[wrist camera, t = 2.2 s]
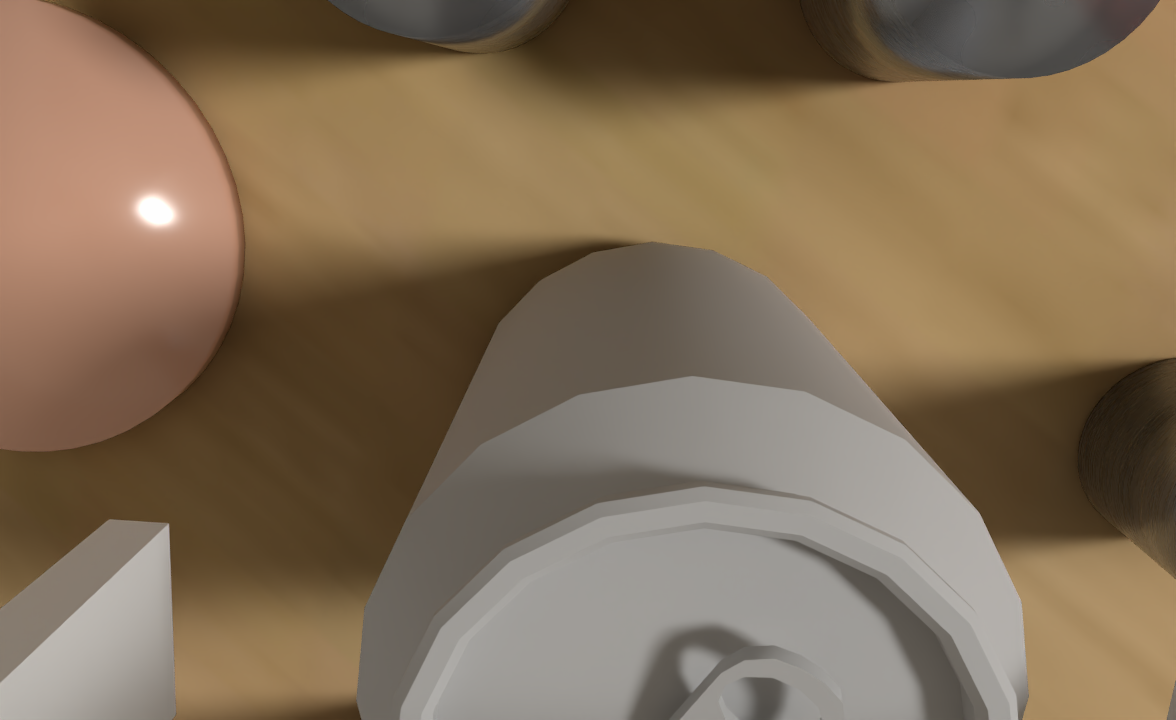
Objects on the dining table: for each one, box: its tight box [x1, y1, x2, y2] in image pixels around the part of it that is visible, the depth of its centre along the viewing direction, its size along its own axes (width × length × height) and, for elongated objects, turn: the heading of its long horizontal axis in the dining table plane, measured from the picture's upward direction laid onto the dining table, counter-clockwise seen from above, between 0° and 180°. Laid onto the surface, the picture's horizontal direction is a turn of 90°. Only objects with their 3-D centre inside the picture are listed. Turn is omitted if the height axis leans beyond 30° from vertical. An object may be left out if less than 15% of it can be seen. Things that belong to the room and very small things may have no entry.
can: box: [356, 242, 1029, 720], centre depth 15 cm, size 8×8×12 cm
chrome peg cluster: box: [328, 0, 1176, 579], centre depth 18 cm, size 22×19×6 cm
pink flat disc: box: [0, 0, 245, 452], centre depth 20 cm, size 9×9×1 cm
